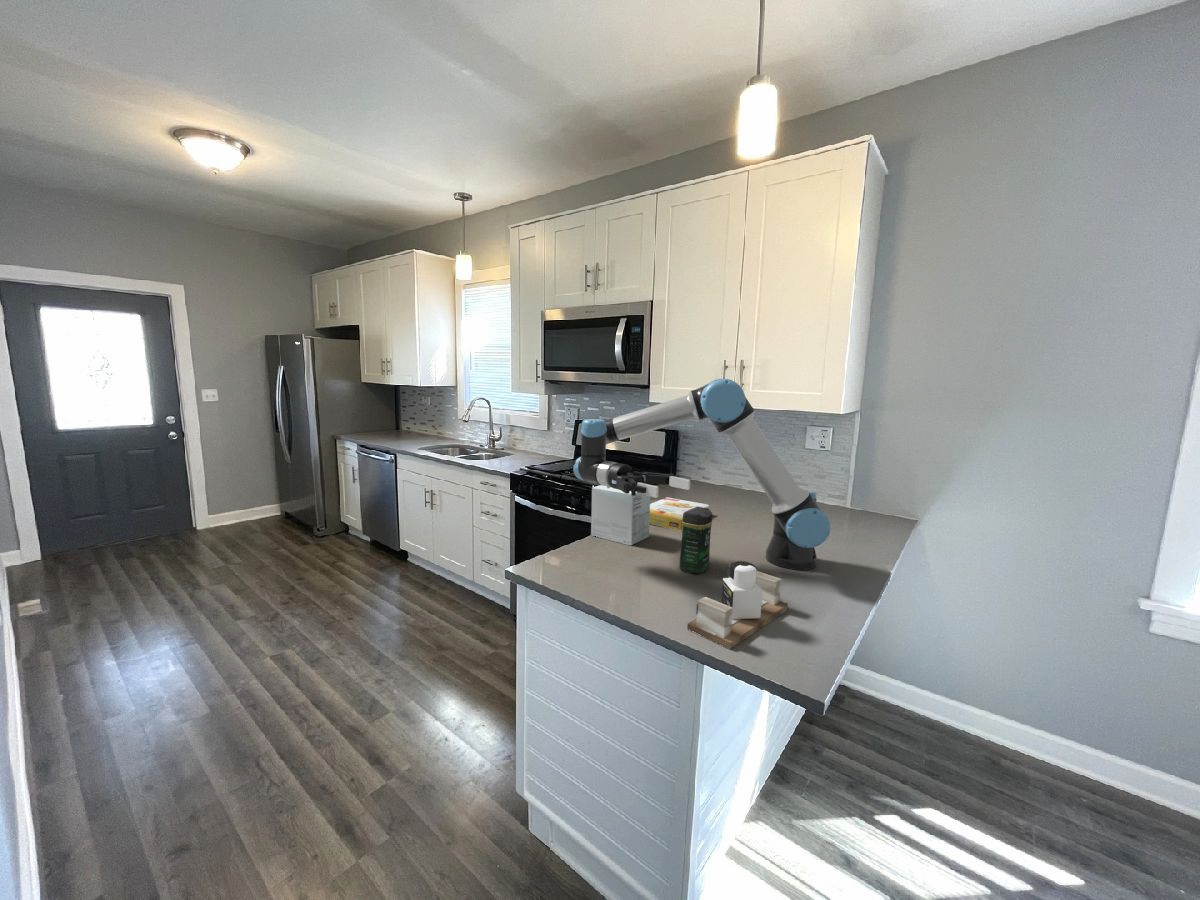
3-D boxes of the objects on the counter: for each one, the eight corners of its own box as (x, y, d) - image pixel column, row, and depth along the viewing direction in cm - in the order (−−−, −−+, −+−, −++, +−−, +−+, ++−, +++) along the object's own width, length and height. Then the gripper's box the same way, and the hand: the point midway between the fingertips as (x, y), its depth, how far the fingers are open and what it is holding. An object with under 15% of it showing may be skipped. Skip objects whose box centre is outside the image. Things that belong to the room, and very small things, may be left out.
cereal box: (635, 509, 190) (666, 495, 214) (634, 522, 191) (665, 507, 215) (683, 519, 180) (709, 503, 203) (682, 533, 181) (708, 516, 204)
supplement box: (650, 536, 174) (652, 487, 171) (631, 546, 163) (633, 494, 161) (610, 527, 184) (611, 480, 181) (589, 536, 173) (590, 487, 170)
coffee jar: (701, 577, 139) (704, 514, 136) (675, 570, 143) (678, 510, 141) (712, 566, 147) (716, 507, 144) (688, 560, 151) (691, 503, 149)
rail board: (747, 594, 128) (749, 567, 127) (787, 609, 120) (790, 580, 119) (687, 629, 110) (688, 598, 108) (730, 649, 102) (732, 616, 101)
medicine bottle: (720, 605, 118) (723, 558, 116) (748, 604, 119) (752, 558, 117) (730, 619, 111) (734, 570, 109) (760, 619, 112) (764, 569, 110)
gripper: (643, 482, 150) (700, 495, 135) (583, 494, 133) (642, 510, 118) (644, 458, 149) (702, 469, 134) (584, 467, 132) (643, 480, 117)
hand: (674, 488), depth 126 cm, fingers open, 13 cm apart
